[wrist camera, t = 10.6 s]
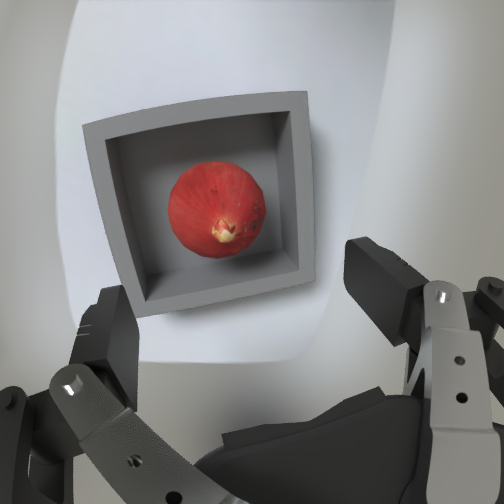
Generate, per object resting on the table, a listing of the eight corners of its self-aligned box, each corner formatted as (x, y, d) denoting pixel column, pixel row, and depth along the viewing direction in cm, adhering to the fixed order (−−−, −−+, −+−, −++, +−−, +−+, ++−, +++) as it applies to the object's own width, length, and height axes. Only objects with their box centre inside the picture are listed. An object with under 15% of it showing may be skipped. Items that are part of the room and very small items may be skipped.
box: (99, 122, 19) (82, 124, 15) (282, 93, 21) (307, 90, 17) (138, 285, 25) (133, 318, 21) (293, 254, 27) (314, 281, 23)
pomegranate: (257, 162, 22) (301, 190, 15) (239, 236, 24) (269, 292, 17) (176, 146, 20) (180, 166, 13) (162, 225, 22) (160, 282, 15)
